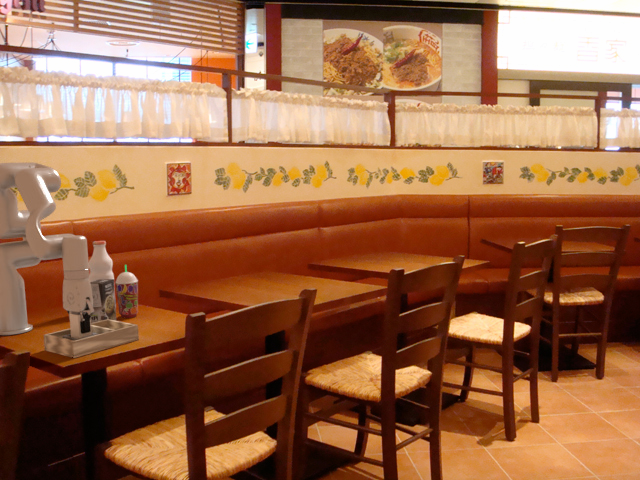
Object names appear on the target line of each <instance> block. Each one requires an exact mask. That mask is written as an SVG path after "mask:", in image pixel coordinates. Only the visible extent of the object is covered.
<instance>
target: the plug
mask: <svg viewBox="0 0 640 480" xmlns="http://www.w3.org/2000/svg"><path fill="white" fill-rule="evenodd" d="M85 310H86V309H84V310H83V311H85ZM85 314H86V312H85V313H84V315H85ZM69 316H70V318H69V327H70V328H69V329H71V337H74V338H82V337H86V336H90V335H92V330H91V331H90V332H88V333H84V334H82V333H81V328H80V321H81V316H80V312H73V311H71V313H70V314H68V317H69ZM90 328H91V320H90Z"/></svg>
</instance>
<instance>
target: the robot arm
mask: <svg viewBox="0 0 640 480" xmlns="http://www.w3.org/2000/svg"><path fill="white" fill-rule="evenodd" d="M61 186H62V178H61V176H60V174H59V172H58V171H57V170H55V169H54V168H53V167H51V166H48V165H43V164H42V163H38V162H0V239H1V240H7V239H8V240H9V239H18V238H22V240H18V241H10V242H9V241H8V242H1V243H0V336H11V335H13V336H14V335H19V334H23V333H28V332H29V331H32V330H33V328H34V327H33V324H32V323H31V324H30V323H28V314H27V313H28V312H27V300H26V298H27V297H26V291H25V289H26V287H25V280H24V278H23V277H22V275H21V274H20V273H19V271H17V269H22V268H28V267H34V266H37V265H38V264H40V263H41V261H47V260H55V259H60V258H61V259H62V265H63V266H62V267H63V268H62V269H63V281H62V282H63V283H62V308H63V309H64V310H65V311H67V314H68V319H70V316H69V314H70V313H71V311H73V312H80V316H81V321H80V328H81V333H82V334H84V333H88V332H90V331H91V328H90V320H91V316H92V314H93V313H94V309H93V296H92V289H91V284H90V277H89V275H90V269H89V253H88V239H87V237H86V236H84V235H75V234H73V233H60V234H52V235H51V234H50V235H43V234H42V225H41V221H42V220H45V219H46V218H48V217H50V215H52V214H53V213H54V212H55V211H56V209H57V204H56V202H55V200H54V198H53V196H52V195H51V193H56V192H58V191H59V190H60V188H61ZM11 188H12V189H13V188H17V191H18V192H19V194H20V197H21V199H22V201H23V203H24V205H25V207H26V209H23V210H19V207H18V206H19V205H18V197H17V196H16V194H15V193H14V191H13V190H12V189H11ZM84 309H86V310H85V311H83V310H84ZM85 312H86V314H85V315H84V313H85Z"/></svg>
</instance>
